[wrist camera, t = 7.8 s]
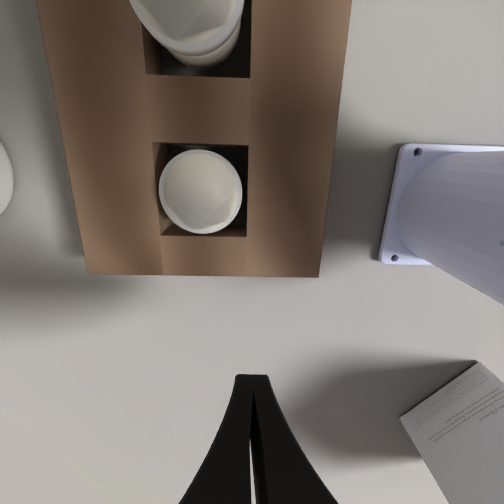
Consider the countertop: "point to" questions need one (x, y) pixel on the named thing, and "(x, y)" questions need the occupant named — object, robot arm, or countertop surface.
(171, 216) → the outer knob
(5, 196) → the pill bottle
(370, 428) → the countertop surface
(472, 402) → the supplement box
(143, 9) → the middle knob
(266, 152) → the knob board
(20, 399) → the countertop surface
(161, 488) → the countertop surface
